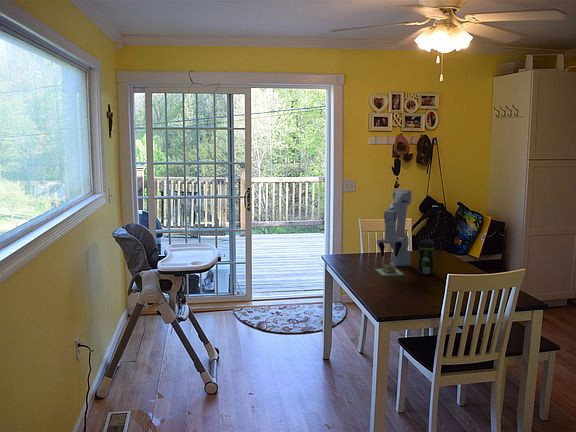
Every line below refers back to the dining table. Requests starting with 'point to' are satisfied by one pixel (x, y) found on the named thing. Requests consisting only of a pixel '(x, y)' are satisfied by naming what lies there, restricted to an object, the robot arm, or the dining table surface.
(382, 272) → the pin board
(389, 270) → the collar
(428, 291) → the dining table surface
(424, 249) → the coffee jar
